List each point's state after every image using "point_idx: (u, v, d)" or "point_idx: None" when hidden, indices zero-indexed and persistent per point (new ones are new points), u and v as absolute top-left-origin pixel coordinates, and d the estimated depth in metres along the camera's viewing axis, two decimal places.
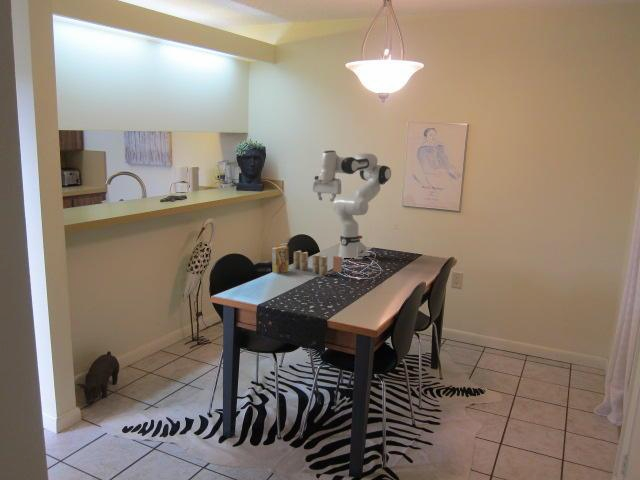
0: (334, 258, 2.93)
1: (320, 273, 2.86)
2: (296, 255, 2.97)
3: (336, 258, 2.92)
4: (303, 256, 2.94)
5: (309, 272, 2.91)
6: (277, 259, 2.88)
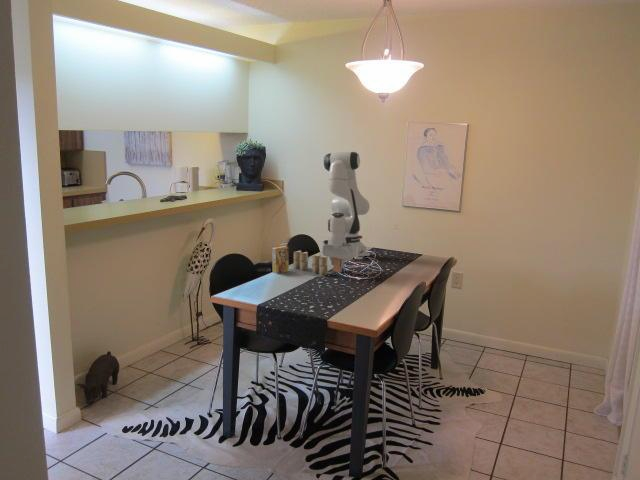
0: (334, 258, 2.93)
1: (320, 273, 2.86)
2: (296, 255, 2.97)
3: (336, 258, 2.92)
4: (303, 256, 2.94)
5: (309, 272, 2.91)
6: (277, 259, 2.88)
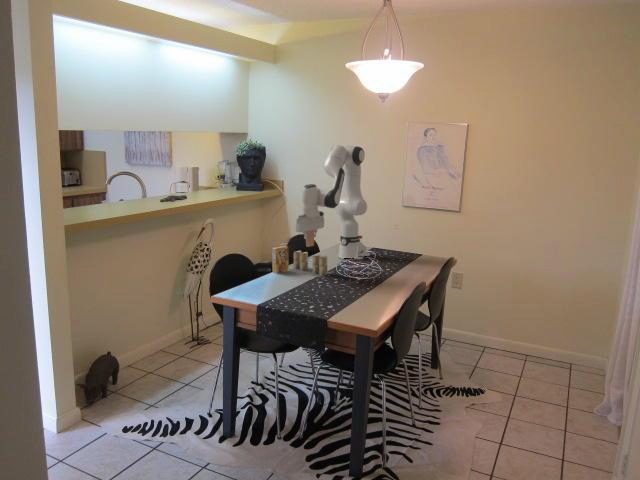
0: None
1: (320, 273, 2.86)
2: (296, 255, 2.97)
3: None
4: (303, 256, 2.94)
5: (309, 272, 2.91)
6: (277, 259, 2.88)
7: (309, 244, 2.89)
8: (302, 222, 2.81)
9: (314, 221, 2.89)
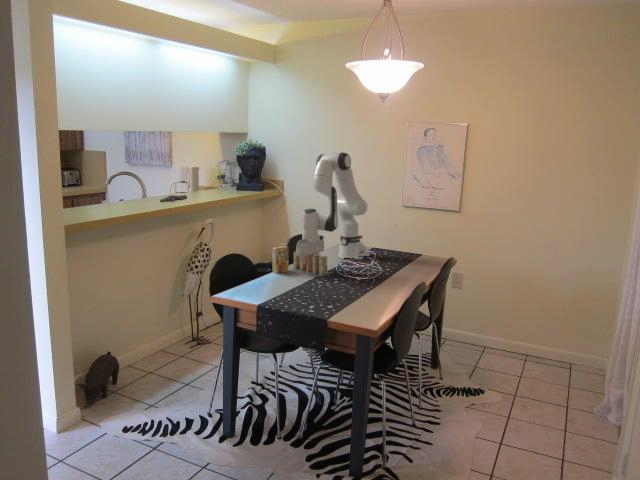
0: None
1: (320, 273, 2.86)
2: (296, 255, 2.97)
3: None
4: None
5: (309, 272, 2.91)
6: (277, 259, 2.88)
7: (309, 269, 2.92)
8: (302, 247, 2.84)
9: (314, 245, 2.92)
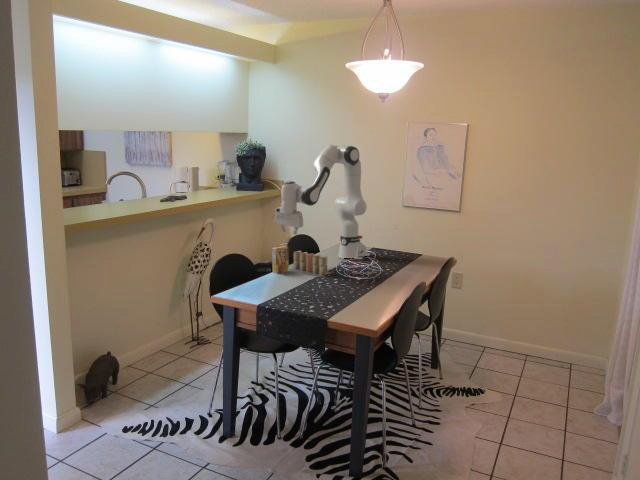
0: None
1: (320, 273, 2.86)
2: (296, 255, 2.97)
3: None
4: (303, 256, 2.94)
5: (309, 272, 2.91)
6: (277, 259, 2.88)
7: (309, 269, 2.92)
8: None
9: None
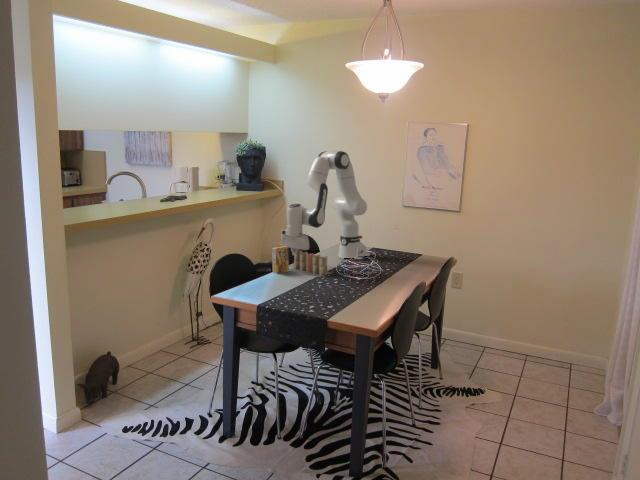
0: None
1: (320, 273, 2.86)
2: (297, 255, 2.97)
3: None
4: (303, 256, 2.94)
5: (309, 272, 2.91)
6: (277, 259, 2.88)
7: (309, 269, 2.92)
8: None
9: None
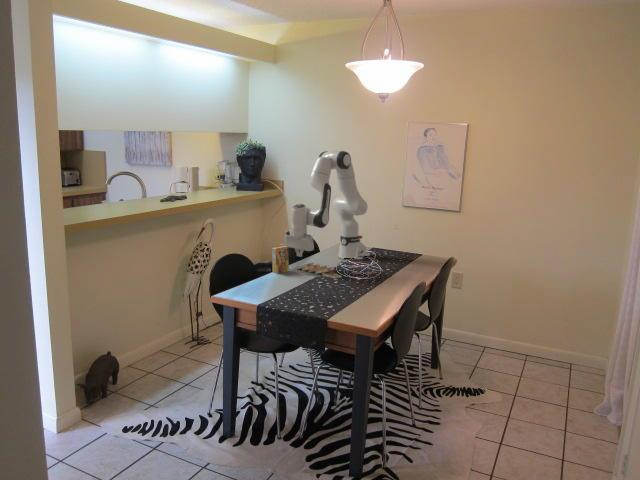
0: (323, 266, 2.89)
1: (323, 274, 2.84)
2: None
3: (322, 266, 2.87)
4: None
5: (309, 272, 2.91)
6: (277, 259, 2.88)
7: (311, 271, 2.92)
8: None
9: None
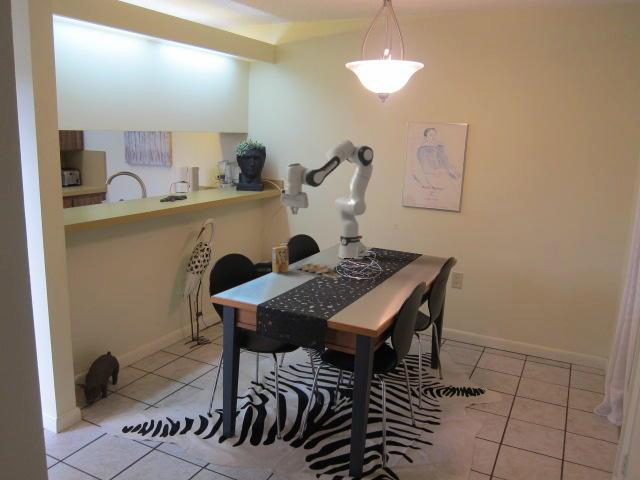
0: (323, 266, 2.89)
1: (323, 274, 2.84)
2: None
3: (322, 266, 2.87)
4: None
5: (309, 272, 2.91)
6: (277, 259, 2.88)
7: (311, 271, 2.92)
8: None
9: None
